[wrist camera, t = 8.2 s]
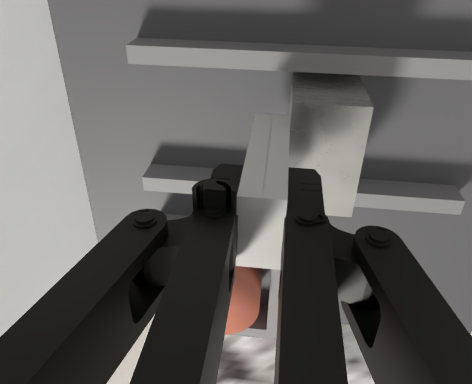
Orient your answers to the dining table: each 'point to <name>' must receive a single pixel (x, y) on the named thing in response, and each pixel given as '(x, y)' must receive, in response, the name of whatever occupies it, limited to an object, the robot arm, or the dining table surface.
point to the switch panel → (276, 110)
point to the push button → (244, 299)
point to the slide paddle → (330, 134)
